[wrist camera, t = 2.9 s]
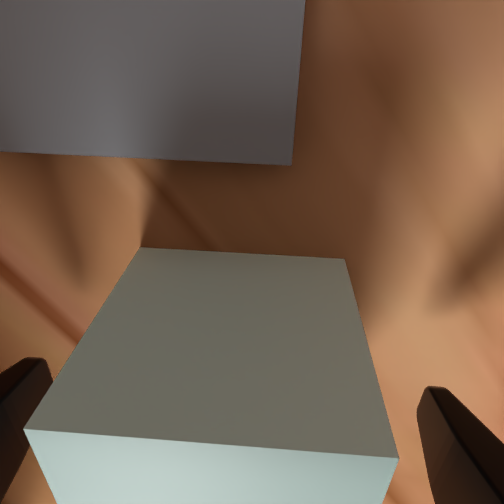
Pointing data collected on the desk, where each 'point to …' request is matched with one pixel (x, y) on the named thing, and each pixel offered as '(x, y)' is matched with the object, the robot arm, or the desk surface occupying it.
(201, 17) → the rubber mat
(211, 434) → the cube
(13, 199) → the desk surface
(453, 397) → the robot arm
